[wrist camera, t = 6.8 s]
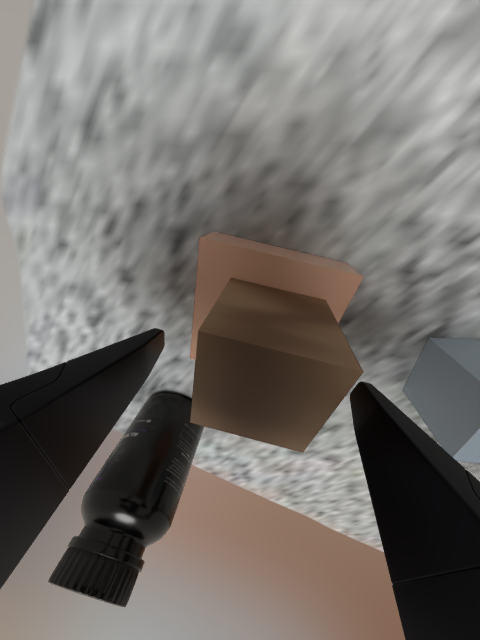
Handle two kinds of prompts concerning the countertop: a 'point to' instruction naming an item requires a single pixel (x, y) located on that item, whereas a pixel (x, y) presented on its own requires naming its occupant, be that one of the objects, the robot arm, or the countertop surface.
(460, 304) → the countertop surface
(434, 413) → the slate-blue cube
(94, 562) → the supplement bottle
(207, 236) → the base block
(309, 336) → the walnut cube
